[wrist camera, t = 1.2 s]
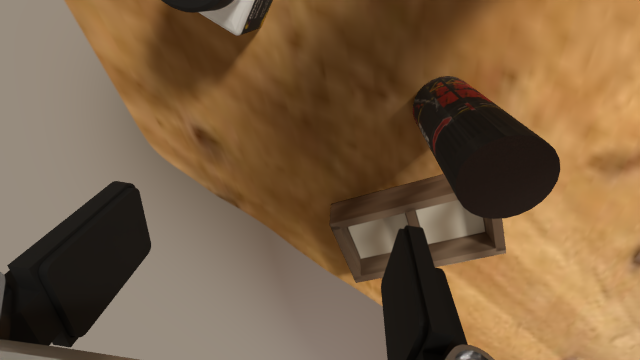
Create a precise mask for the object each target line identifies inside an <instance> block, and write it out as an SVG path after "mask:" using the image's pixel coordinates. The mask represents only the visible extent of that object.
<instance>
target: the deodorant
mask: <svg viewBox="0 0 640 360" xmlns="http://www.w3.org/2000/svg"><path fill="white" fill-rule="evenodd" d="M413 115H414V119H415V121H416V123H417V125H418V127H419V129H420V130H421V132H422V134H423V136H424V138H425V140H426V141H427V143H428V145H429V147H430V149H431V151H432V153H433V154H434V156H435V158H436V160H437V162H438V164H439V166H440V167H441V169H442V171H443V173H444V175H445V177H446V179H447V180H448V182H449V184H450V186H451V188H452V190H453V192H454V193H455V195H456V197H457V199H458V200H459V202H460V203H461V205H462V206H463V208H465V209H466V210H467V211H469V212H470V213H471V214H474V215H477V216H479V217H482V218H490V219H500V218H508V217H512V216H516V215H519V214H521V213H524V212H526V211H528V210H530V209H532V208H533V207H535V206H536V205H537V204H539V203H540V202H542V201H543V200H544V199H545V198H546V197H547V195H548V194H549V193H550V192H551V191H552V189H553V188H554V186H555V184H556V183H557V181H558V177H559V173H560V160H559V157H558V155H557V153H556V151H555V149H554V148H553V147H552V146H551V145H550V144H548V143H547V142H546V141H545V140H544V139H542V138H541V137H539V136H538V135H537V134H535V133H534V132H533V131H531V130H530V129H528V128H527V127H526V126H524V125H523V124H522V123H520V122H519V121H518V120H516V119H515V118H513V117H512V116H511V115H509V114H508V113H507V112H505V111H504V110H503V109H501V108H500V107H498V106H497V105H496V104H494V103H493V102H492V101H490V100H489V99H488V98H486V97H485V96H483V95H482V94H481V93H479V92H478V91H477V90H475V89H474V88H472V87H471V86H470V85H468V84H467V83H466V82H464V81H463V80H461V79H459V78H456V77H450V76H446V77H439V78H436V79H434V80H431V81H430V82H429V83H427V84H426V85H424V86H423V87H422V89H421V90H420V91H419V92H418V94H417V96H416V97H415V100H414V104H413Z"/></svg>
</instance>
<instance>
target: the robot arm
mask: <svg viewBox="0 0 640 360" xmlns="http://www.w3.org/2000/svg"><path fill="white" fill-rule="evenodd" d="M150 249H151V241H150V237H149V232H148V228H147V224H146V219H145V215H144V210H143V206H142V201H141V197H140V192H139V190H138V189H137V188H135V186H134V185H133V184H131V183H125V182H118V181H114V182H112V183H111V184H109V185H108V186H107V187H106V188H104V189H103V190H102V191H101V192H99V193H98V194H97V195H96V196H94V197H93V198H92V199H90V200H89V201H88V202H87V203H85V204H84V205H83V206H82V207H80V208H79V209H78V210H77V211H75V212H74V213H73V214H72V215H70V216H69V217H68V218H67V219H65V220H64V221H63V222H62V223H60V224H59V225H58V226H57V227H55V228H54V229H53V230H51V231H50V232H49V233H48V234H46V235H45V236H44V237H43V238H41V239H40V240H39V241H38V242H36V243H35V244H34V245H33V246H31V247H30V248H29V249H27V250H26V251H25V252H24V253H23V254H21V255H20V256H19V257H17V258H16V259H15V260H14V261H12V262H11V263H10V264H9V265H8V267H9V269H10V270H9V271H8V272H7V273H6V274H5V275H3V274H2V273H1V272H0V360H138V359H132V358H125V357H119V356H112V355H106V354H99V353H93V352H87V351H80V350H74V349H67V348H60V347H54V346H49V345H50V344H51V343H53V345H59V346H65V347H71V346H72V345H73V344H74V343H75V341H76V340H77V339H78V338H79V337H82V336H83V335H85V334H86V333H87V332H88V330H89V329H90V328H91V326H92V325H93V324H94V323H95V321H96V320H97V319H98V317H99V316H100V315H101V314H102V312H103V311H104V310H105V309H106V307H107V306H108V305H109V303H110V302H111V301H112V300H113V298H114V297H115V296H116V295H117V293H118V292H119V291H120V289H121V288H122V287H123V285H124V284H125V283H126V282H127V280H128V279H129V278H130V277H131V275H132V274H133V273H134V271H135V270H136V269H137V267H138V266H139V265H140V264H141V262H142V261H143V260H144V259H145V257H146V256H147V255H148V253H149V251H150ZM381 293H382V304H383V314H384V325H385V336H386V346H387V357H388V360H494V359H493V358H492V357H491V356H490V355H489V354H488V353H486V352H485V351H483V350H481V349H480V348H477V347H474V346H472V345H468V344H467V341H466V338H465V335H464V332H463V329H462V325H461V322H460V319H459V316H458V313H457V310H456V307H455V304H454V301H453V298H452V294H451V291H450V288H449V285H448V282H447V279H446V276H445V273H444V271H443V270H442V269H440V268H435V267H434V263H433V260H432V256H431V253H430V250H429V246H428V243H427V239H426V236H425V233H424V230H423V228H422V227H415V226H409V225H406V226H405V227H404V229H401V228H400V229H399V230H398V233H397V236H396V239H395V242H394V245H393V248H392V251H391V254H390V257H389V260H388V263H387V266H386V269H385V272H384V275H383V279H382V283H381Z"/></svg>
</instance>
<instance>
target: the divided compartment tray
mask: <svg viewBox="0 0 640 360" xmlns="http://www.w3.org/2000/svg"><path fill="white" fill-rule="evenodd" d="M406 225H409V226H415V227H422V228H423V230H424V233H425V236H426V239H427V243H428V246H429V250H430V253H431V256H432V260H433V263H434V267H439V266H444V265H450V264H455V263H460V262H465V261H470V260H475V259H480V258H484V257H489V256H494V255H499V254H504V253H506V247H505V239H504V230H503V222H502V218H500V219H490V218H482V217H479V216H477V215H474V214H471V213H470V212H469V211H467V210H466V209H465V208H463V206H462V205H461V203H460V202H459V200H458V199H457V197H456V195H455V193H454V192H453V190H452V188H451V186H450V184H449V182H448V180H447V179H446V177H445V175H444V174H442V175H439V176H435V177H431V178H428V179H424V180H420V181H416V182H413V183H409V184H405V185H401V186H398V187H394V188H390V189H386V190H383V191H379V192H375V193H371V194H368V195H364V196H360V197H356V198H353V199H349V200H345V201H341V202H338V203H334V204H331V212H330V227H331V229H332V231H333V233H334V235H335V238H336V240H337V242H338V244H339V246H340V249H341V251H342V253H343V255H344V257H345V260H346V262H347V264H348V266H349V269H350V271H351V273H352V275H353V277H354V280H355V282H356V283H358V282H363V281H368V280H373V279H379V278H383V275H384V272H385V269H386V266H387V263H388V260H389V257H390V254H391V251H392V248H393V245H394V242H395V239H396V236H397V233H398V230H399V229H400V228H401V229H404V227H405V226H406Z"/></svg>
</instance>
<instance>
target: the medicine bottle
mask: <svg viewBox="0 0 640 360" xmlns="http://www.w3.org/2000/svg"><path fill="white" fill-rule="evenodd" d="M162 1H163V2H164V3H166V4H168V5H169V6H171V7H173V8H175V9H178V10H181V11H185V12H198V13H200V14H202V15H203V16H205V17H207V18H208V19H210V20H211V21H213V22H215V23H216V24H218V25H220V26H221V27H223V28H225V29H226V30H228V31H229V32H231V33H233V34H234V35H237V36H238V35H241V34H244V33H247V32H250V31H253V30H256V29H258V28H260V27H261V26H262V24H263V22H264V19H265V17H266V15H267V12H268V10H269V8H270V6H271V3H272V1H273V0H162Z"/></svg>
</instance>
